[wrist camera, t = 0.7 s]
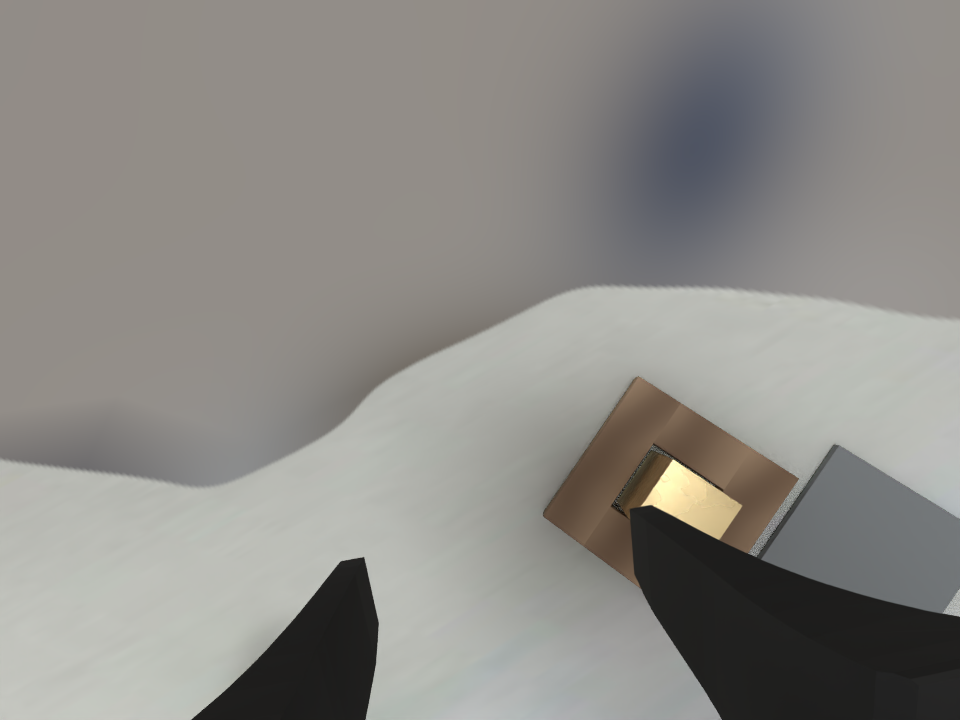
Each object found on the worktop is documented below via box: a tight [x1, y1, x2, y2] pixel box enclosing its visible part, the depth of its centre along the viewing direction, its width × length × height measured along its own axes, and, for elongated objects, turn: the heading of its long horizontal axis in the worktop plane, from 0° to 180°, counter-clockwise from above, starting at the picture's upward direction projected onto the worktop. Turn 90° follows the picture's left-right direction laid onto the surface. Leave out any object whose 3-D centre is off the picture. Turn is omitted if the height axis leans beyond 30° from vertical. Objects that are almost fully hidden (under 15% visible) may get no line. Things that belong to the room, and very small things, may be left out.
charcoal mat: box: [757, 445, 960, 613], centre depth 27 cm, size 9×9×1 cm
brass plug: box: [617, 450, 742, 540], centre depth 26 cm, size 4×4×6 cm
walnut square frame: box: [543, 376, 799, 588], centre depth 28 cm, size 11×11×1 cm
